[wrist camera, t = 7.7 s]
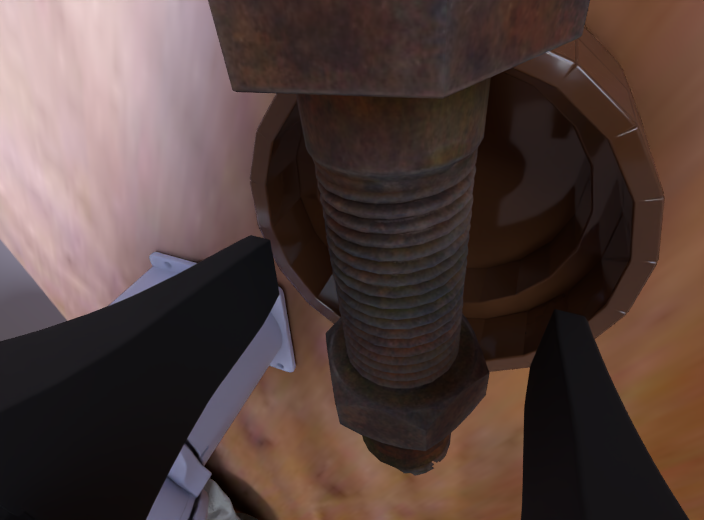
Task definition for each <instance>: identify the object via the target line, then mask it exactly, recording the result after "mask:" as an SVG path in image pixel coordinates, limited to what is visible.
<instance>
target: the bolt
mask: <svg viewBox="0 0 704 520" xmlns="http://www.w3.org/2000/svg"><path fill="white" fill-rule="evenodd" d="M208 1H209V5H210V9H211V12H212V16H213V20H214V24H215V27H216V31H217V35H218V38H219V42H220V46H221V49H222V53H223V57H224V60H225V64H226V68H227V71H228V75H229V79H230V82H231V86H232V90H233V91H236V92H254V93H284V94H296V98H297V104H298V109H299V114H300V119H301V125H302V130H303V135H304V140H305V146H306V149H307V151H308V153H309V154H310V156H311V157H312V158H313V161H314V164H315V172H316V178H317V180H318V188H319V191H320V193H321V194H320V201H321V203H322V205H323V217H324V219H325V229H326V233H327V235H326V238H327V243H328V246H329V249H328V250H329V254H330V261H331V266H332V272H333V277H334V281H335V285H336V293H337V298H338V303H339V310H340V313H341V318H340V319H339V320H338V321H337V322H336V323H335V324H334V325H333V326H332V327H331V328H330V329H329V330H328V332H327V333H326V342H327V350H328V358H329V365H330V372H331V380H332V386H333V392H334V398H335V404H336V408H337V412H338V417H339V421H340V424H341V425H343V426H345V427H347V428H349V429H351V430H353V431H355V432H357V433H359V434H361V435H362V436H363V440H364V442H365V444H366V446H367V448H368V450H369V451H370V452H371V453H372V454H373V455H374V456H375V457H377V458H378V459H379V460H380V461H381V462H383V463H386V464H388V465H390V466H393V467H395V468H397V469H399V470H400V471H402V472H403V473H412V474H413V475H419V474H423V473H426V472H428V471H430V470H432V469H434V468H433V467H432V466H433V465H434V464H433V463H432V461H434V462H436V463H437V462H438V461H439V462H440V461H441V460H442V459H443V458H444V457H445V456H446V453H447V450H448V448H449V445H450V436H451V432H452V431H453V430H454V429H456V428H457V427H458V426H459V425H460V424H461V423H462V422H463V420H464V419H465V418H466V417H467V416H468V415H469V414H470V413H471V412H472V411H473V410H474V409H475V407H476V406H477V405H478V404H479V402H480V401H481V400H482V399H483V398H484V396H485V395H486V390H487V384H488V378H489V370H488V367H487V364H486V361H485V358H484V355H483V352H482V349H481V347H480V345H479V342H478V340H477V337H476V335H475V332H474V330H473V329H472V327H471V325H470V324H469V322H468V320H467V318H466V317H465V316H464V315H463V313H462V308H463V291H464V281H465V274H466V266H467V255H468V246H467V245H468V241H469V230H470V227H471V226H470V221H471V216H472V209H471V208H472V204H473V195H472V193H473V187H474V177H475V173H476V167H475V164H476V160H477V152H478V146H479V145H480V143H481V141H482V140H483V138H484V130H485V122H486V113H487V105H488V97H489V88H490V80H491V77H493V76H495V75H497V74H499V73H502V72H504V71H506V70H508V69H511V68H513V67H515V66H517V65H520V64H522V63H524V62H526V61H528V60H531V59H533V58H535V57H537V56H540V55H542V54H544V53H546V52H549V51H551V50H553V49H555V48H558V47H560V46H562V45H564V44H567V43H569V42H571V41H573V40H576V39H578V38H579V37H581V36H582V34H583V29H584V25H585V20H586V15H587V11H588V6H589V2H590V0H208Z"/></svg>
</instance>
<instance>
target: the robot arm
mask: <svg viewBox="0 0 704 520" xmlns="http://www.w3.org/2000/svg"><path fill="white" fill-rule="evenodd" d="M149 258H150V261H151V264H152V266H153V267H152V268H150V269H149V270H148V271H147V272H146V273H145V274H144V275H142V276H141V277H140V278H139V279H138V280H137V281H136V282H134V283H133V284H132V285H131V286H130V287H129V288H128V289H127V290H125V291H124V292H123V293H122V294H121V295H120V296H119V297H117V298H116V299H115V300H114V301H113V302H112V303H111V304H110V305H108V306H107V307H105V308H102V309H100V310H97V311H95V312H92V313H89V314H87V315H84V316H81V317H78V318H75V319H72V320H69V321H66V322H63V323H60V324H57V325H55V326H51V327H48V328H45V329H42V330H39V331H36V332H32V333H29V334H25V335H22V336H18V337H15V338H11V339H8V340H4V341H0V520H207V518H208V501H209V498H208V494H207V492H206V491H205V490H204V489H203V488H204V486H205V484H206V483H207V481H208V480H209V478H210V476H211V475H212V473H211V472H210V471H209V470H208V469H206V468H205V467H204V466H205V464H206V462H207V461H208V459H209V458H210V456H211V455H212V453H213V452H214V450H215V448H216V447H217V445H218V444H219V442H220V441H221V439H222V438H223V436H224V435H225V433H226V431H227V430H228V428H229V427H230V425H231V424H232V422H233V421H234V419H235V418H236V416H237V414H238V413H239V411H240V410H241V408H242V407H243V405H244V404H245V402H246V401H247V399H248V397H249V396H250V394H251V393H252V391H253V390H254V388H255V387H256V385H257V384H258V382H259V380H260V379H261V377H262V376H263V374H264V373H265V371H266V370H267V368H268V367H269V366H272V367H275V368H278V369H281V370H284V371H287V372H293V371H294V369H295V368H296V364H295V358H294V352H293V346H292V340H291V334H290V328H289V322H288V316H287V310H286V304H285V298H284V293H283V290H282V289H281V288H280V287H279V286H278V282H277V277H276V271H275V265H274V259H273V253H272V248H271V242H270V240H269V239H264V238H260V237H256V236H252V235H250V236H248V237H246V238H244V239H242V240H240V241H238V242H236V243H234V244H232V245H230V246H229V247H227V248H225V249H223V250H221V251H219V252H218V253H216V254H214V255H212V256H210V257H208V258H207V259H205V260H203V261H201V262H199V263H195V262H191V261H188V260H184V259H181V258H177V257H173V256H170V255H166V254H163V253H159V252H153V253H152V254H151V255H150V256H149ZM521 520H689V519H688V517H687V515H686V514H685V512H684V511H683V509H682V508H681V506H680V504H679V503H678V501H677V500H676V498H675V496H674V495H673V493H672V492H671V490H670V489H669V487H668V485H667V484H666V482H665V480H664V479H663V477H662V475H661V474H660V472H659V470H658V468H657V467H656V465H655V463H654V462H653V460H652V458H651V456H650V454H649V453H648V451H647V449H646V447H645V445H644V444H643V442H642V440H641V438H640V436H639V434H638V433H637V431H636V429H635V427H634V425H633V423H632V421H631V419H630V417H629V415H628V413H627V411H626V409H625V407H624V405H623V403H622V401H621V399H620V397H619V395H618V392H617V390H616V388H615V386H614V384H613V382H612V380H611V377H610V375H609V373H608V371H607V368H606V366H605V364H604V361H603V359H602V357H601V354H600V352H599V349H598V347H597V344H596V342H595V339H594V337H593V334H592V331H591V329H590V326H589V323H588V321H587V319H586V318H585V316H582V315H578V314H574V313H569V312H565V311H561V310H557V309H554V311H553V313H552V316H551V318H550V320H549V323H548V325H547V327H546V330H545V332H544V334H543V337H542V339H541V341H540V344H539V346H538V349H537V351H536V353H535V356H534V358H533V360H532V363H531V365H530V372H529V378H528V385H527V392H526V399H525V408H524V446H523V492H522V514H521Z"/></svg>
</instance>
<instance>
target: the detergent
mask: <svg viewBox="0 0 704 520" xmlns="http://www.w3.org/2000/svg"><path fill="white" fill-rule="evenodd" d="M203 489H204V490H205V491H206V492H207V494H208V498H209V501H208V518H207V520H258V519H256V518H254V517H252V516H250V515H247V514H244V513H236V512H235V511H234V509H233V505H232V503H231V501H230V499H229V497H228V496H227V495H226V494H225V493H224V492H223V491H222V490H221V488H220V487H219V486H218V484H217V483H216V482H215V481H213V480H212V479H210V478H209V480H208V481H207V483H206V484H205V486H204V488H203Z"/></svg>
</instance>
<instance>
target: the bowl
mask: <svg viewBox="0 0 704 520" xmlns="http://www.w3.org/2000/svg"><path fill="white" fill-rule="evenodd" d="M475 167H476V173H475V177H474V187H473V193H472V195H473V204H472V208H471V209H472V216H471V221H470V226H471V227H470V230H469V241H468V245H467V246H468V255H467V266H466V274H465V281H464V291H463V308H462V313H463V315H464V316H465V317H466V318H467V320H468V322H469V324H470V325H471V327H472V329H473V330H474V332H475V335H476V337H477V340H478V342H479V345H480V347H481V349H482V352H483V355H484V358H485V361H486V364H487V367H488V370H489V372H491V371H500V370H509V369H518V368H528V367H530V365H531V363H532V360H533V358H534V356H535V353H536V351H537V349H538V346H539V344H540V341H541V339H542V337H543V334H544V332H545V330H546V327H547V325H548V323H549V320H550V318H551V316H552V313H553V311H554V309H557V310H561V311H565V312H569V313H574V314H578V315H582V316H585V318H586V319H587V321H588V323H589V326H590V329H591V331H592V334H593V337H594V339H595V338H597V337H598V336H599V335H601V334H602V333H603V332H604V331H606V330H607V329H608V328H610V327H611V326H612V325H613V324H615V323H616V322H617V321H619V320H620V319H621V318H622V317H624V316H625V315H626V313H628V312H629V310H630V308H631V307H632V305H633V303H634V302H635V300H636V298H637V297H638V295H639V293H640V292H641V290H642V288H643V286H644V285H645V283H646V281H647V280H648V278H649V276H650V275H651V273H652V271H653V270H654V268H655V266H656V265H657V261H658V259H659V251H660V240H661V230H662V220H663V210H664V199H665V198H664V195H663V194H664V192H663V188H662V185H661V182H660V179H659V175H658V172H657V169H656V166H655V162H654V159H653V156H652V153H651V150H650V146H649V143H648V140H647V137H646V133H645V130H644V127H643V124H642V120H641V118H640V115H639V112H638V109H637V107H636V104H635V101H634V99H633V96H632V93H631V90H630V88H629V85H628V82H627V79H626V77H625V74H624V71H623V69H622V68H621V65H620V64H619V63H618V61H617V60H616V59H615V58H614V57H613V56H612V55H611V54H610V53H609V52H608V51H607V50H606V49H605V48H604V47H603V46H602V45H601V44H600V43H599V42H598V41H597V40H596V38H595V37H594V36H593V35H592V34H591V33H590V32H589V31H588V30H587V29H586V28H585V27H584V29H583V34H582V36H581V37H579V38H578V39H576V40H573V41H571V42H569V43H567V44H564V45H562V46H560V47H558V48H555V49H553V50H551V51H549V52H546V53H544V54H542V55H540V56H537V57H535V58H533V59H531V60H528V61H526V62H524V63H522V64H520V65H517V66H515V67H513V68H511V69H508V70H506V71H504V72H502V73H499V74H497V75H495V76H493V77H491V80H490V88H489V97H488V105H487V113H486V122H485V130H484V138H483V140H482V141H481V143H480V145H479V146H478V152H477V160H476V164H475ZM250 180H251V181H250V185H251V190H252V195H253V200H254V206H255V211H256V216H257V221H258V226H260V227H259V229H260V231H261V233H262V235H263V237H264V239H269V240H270V242H271V248H272V253H273V257H274V259H275V261H276V263H277V265H278V267H280V270H281V271H282V272H283V274H284V275H285V276H286V277H287V278H288V280H289V281H290V282H291V283H292V284H293V286H294V287H295V288H296V289H297V290H298V292H299V293H300V294H301V295H302V296H303V298H304V299H305V300H306V301H307V302H308V303H309V304H310V305H311V306H312V307H313V308H315V309H316V310H317V311H318V312H320V313H321V314H322V315H324V316H325V317H326V318H327V319H329V320H330V321H331V322H332V323H334V324H335V323H336V322H337V321H338V320H339V319H340V318H341V313H340V310H339V303H338V298H337V293H336V285H335V281H334V277H333V272H332V266H331V261H330V254H329V250H328V249H329V246H328V243H327V238H326V235H327V233H326V229H325V219H324V217H323V205H322V203H321V201H320V194H321V193H320V191H319V188H318V180H317V178H316V172H315V164H314V161H313V158H312V157H311V156H310V154H309V153H308V151H307V149H306V146H305V140H304V135H303V130H302V125H301V119H300V114H299V109H298V104H297V98H296V94H284V93H276V95H275V97H274V99H273V101H272V103H271V104H270V106H269V108H268V110H267V112H266V114H265V115H264V117H263V119H262V121H261V123H260V125H259V126H258V128H257V132H256V137H255V144H254V152H253V159H252V167H251V174H250Z"/></svg>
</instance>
